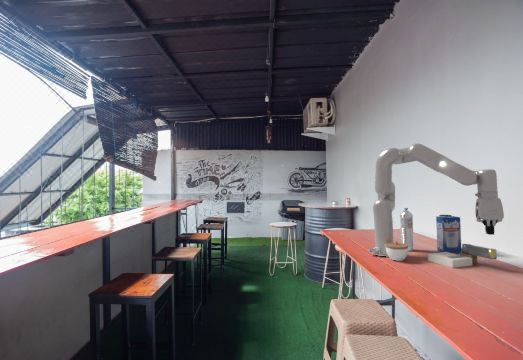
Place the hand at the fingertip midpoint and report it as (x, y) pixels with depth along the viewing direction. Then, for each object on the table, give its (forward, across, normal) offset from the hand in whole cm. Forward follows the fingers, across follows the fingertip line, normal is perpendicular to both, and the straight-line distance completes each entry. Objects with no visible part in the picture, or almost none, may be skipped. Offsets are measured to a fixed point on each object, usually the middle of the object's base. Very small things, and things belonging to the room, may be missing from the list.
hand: (490, 234), depth 137 cm
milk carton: (+15, -5, +29) cm, 33 cm away
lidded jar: (+14, -40, +10) cm, 43 cm away
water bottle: (+14, -26, +33) cm, 45 cm away
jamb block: (+15, -8, +5) cm, 17 cm away
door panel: (+15, -16, +5) cm, 23 cm away
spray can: (+15, -2, +38) cm, 41 cm away
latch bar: (+10, -6, 0) cm, 11 cm away
